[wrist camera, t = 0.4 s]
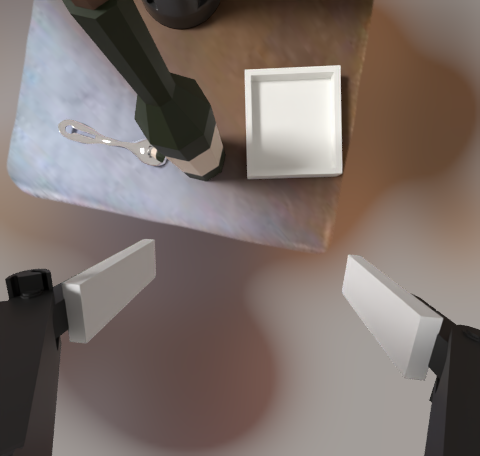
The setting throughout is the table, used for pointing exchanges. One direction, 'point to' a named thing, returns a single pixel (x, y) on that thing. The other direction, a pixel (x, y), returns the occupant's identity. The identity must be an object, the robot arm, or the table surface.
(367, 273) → the robot arm
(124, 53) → the wine bottle
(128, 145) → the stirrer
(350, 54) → the table surface
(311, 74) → the serving tray
